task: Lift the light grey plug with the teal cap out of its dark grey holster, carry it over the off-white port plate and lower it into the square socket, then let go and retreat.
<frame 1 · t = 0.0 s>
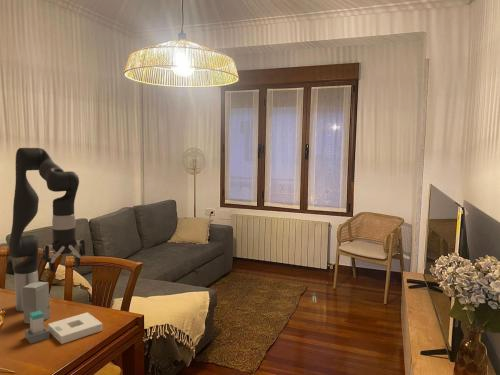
hand: (65, 269, 144), 29 cm above the table, tool pointing down, fingers open, 8 cm apart
plug: (36, 325, 151), in the holster
holster: (37, 337, 152), on the table
skincare box: (37, 320, 166), on the table
port plate: (75, 330, 158), on the table
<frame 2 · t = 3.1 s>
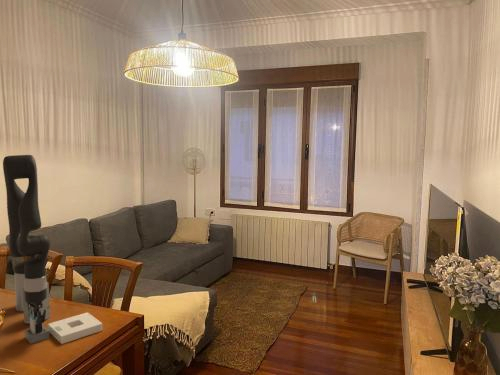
hand: (37, 330, 151), 3 cm above the table, tool pointing down, fingers closed on plug, 3 cm apart
plug: (36, 325, 151), in the holster, touching gripper
everything else where it was.
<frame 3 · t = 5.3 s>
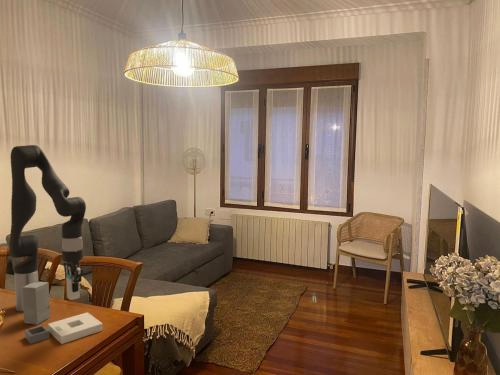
hand: (73, 289, 156), 17 cm above the table, tool pointing down, fingers closed on plug, 3 cm apart
plug: (73, 285, 156), point 19 cm above the table, touching gripper
everything else where it was.
when the fingers open (4 cm above the table, at t = 7.6 s): plug stays where it is, resting in port plate.
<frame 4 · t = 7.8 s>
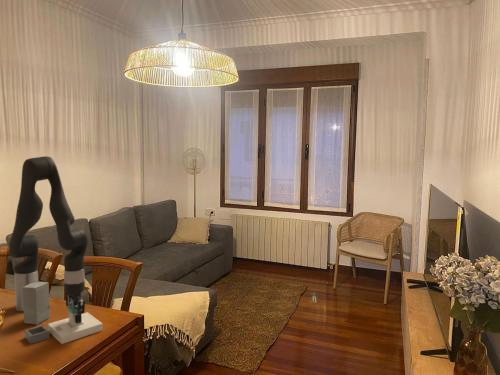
hand: (75, 320, 158), 5 cm above the table, tool pointing down, fingers open, 5 cm apart
plug: (75, 319, 158), in the port plate
everything else where it was.
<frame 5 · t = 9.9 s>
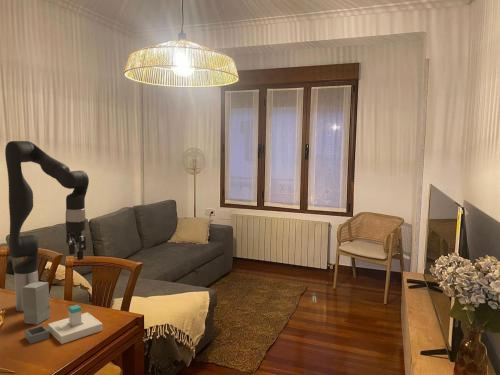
hand: (75, 256, 164), 28 cm above the table, tool pointing down, fingers open, 8 cm apart
nothing on the table moved.
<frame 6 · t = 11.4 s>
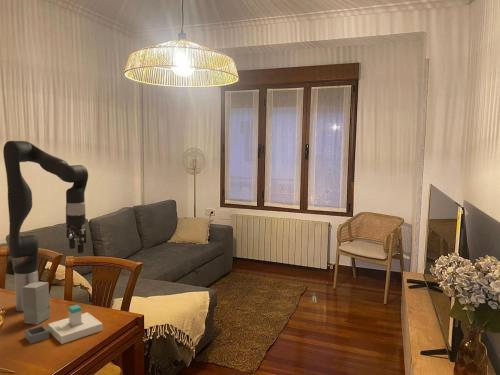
hand: (76, 250, 165), 30 cm above the table, tool pointing down, fingers open, 8 cm apart
nothing on the table moved.
at the end: plug 0.1 cm off-centre on the port plate, point 5.0 cm above the port plate's base; plug tilted 0°; the gripper is holding nothing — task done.
